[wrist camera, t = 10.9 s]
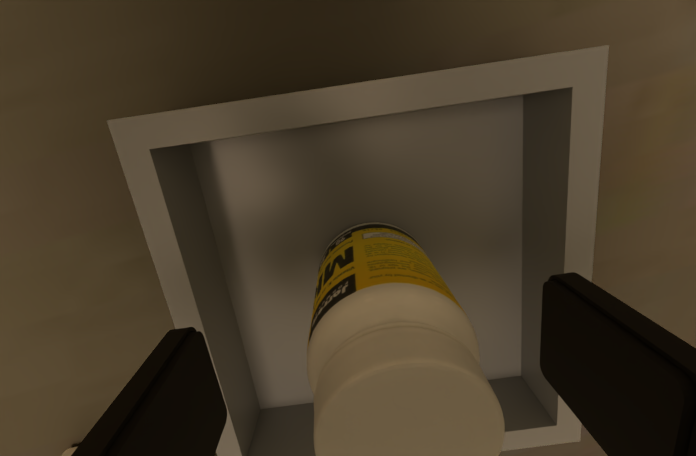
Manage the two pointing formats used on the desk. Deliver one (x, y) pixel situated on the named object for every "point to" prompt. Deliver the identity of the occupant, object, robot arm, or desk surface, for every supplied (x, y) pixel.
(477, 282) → the tray
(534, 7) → the desk surface
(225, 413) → the robot arm
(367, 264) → the supplement bottle
